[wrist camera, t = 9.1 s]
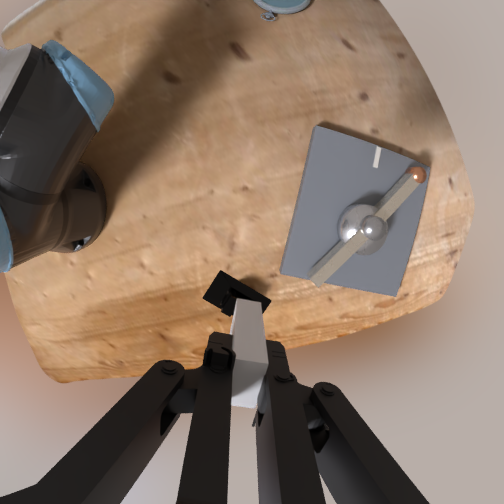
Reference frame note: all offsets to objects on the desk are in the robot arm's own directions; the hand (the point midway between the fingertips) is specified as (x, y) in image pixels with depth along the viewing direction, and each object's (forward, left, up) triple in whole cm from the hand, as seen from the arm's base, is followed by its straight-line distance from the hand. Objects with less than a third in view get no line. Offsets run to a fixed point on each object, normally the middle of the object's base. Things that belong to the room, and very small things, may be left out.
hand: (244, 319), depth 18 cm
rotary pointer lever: (+16, +7, -24) cm, 30 cm away
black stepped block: (+1, -10, -27) cm, 29 cm away
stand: (+16, +7, -26) cm, 32 cm away
